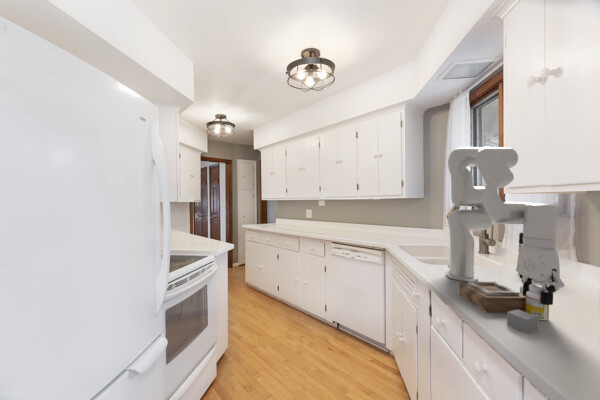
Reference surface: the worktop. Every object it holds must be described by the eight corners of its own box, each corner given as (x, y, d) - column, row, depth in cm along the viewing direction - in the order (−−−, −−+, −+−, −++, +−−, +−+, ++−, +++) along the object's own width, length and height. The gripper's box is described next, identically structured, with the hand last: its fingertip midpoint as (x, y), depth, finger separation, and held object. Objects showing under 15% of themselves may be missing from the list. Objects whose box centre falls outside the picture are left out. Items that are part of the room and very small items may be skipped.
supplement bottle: (536, 312, 82) (537, 283, 82) (553, 320, 77) (554, 289, 76) (520, 312, 82) (521, 283, 81) (536, 321, 76) (537, 289, 76)
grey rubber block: (507, 325, 74) (507, 311, 74) (517, 322, 76) (518, 309, 76) (527, 334, 70) (527, 319, 70) (538, 330, 71) (538, 316, 71)
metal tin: (515, 294, 98) (515, 286, 98) (530, 294, 98) (531, 286, 98) (529, 300, 92) (529, 292, 92) (545, 300, 92) (546, 292, 92)
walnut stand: (459, 295, 96) (459, 279, 96) (496, 295, 96) (496, 280, 96) (485, 312, 82) (486, 294, 82) (529, 312, 82) (529, 294, 82)
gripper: (504, 238, 87) (503, 289, 88) (554, 249, 70) (552, 313, 70) (526, 238, 87) (525, 289, 87) (581, 249, 70) (579, 313, 70)
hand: (537, 299), depth 79 cm, fingers closed on supplement bottle, 5 cm apart
